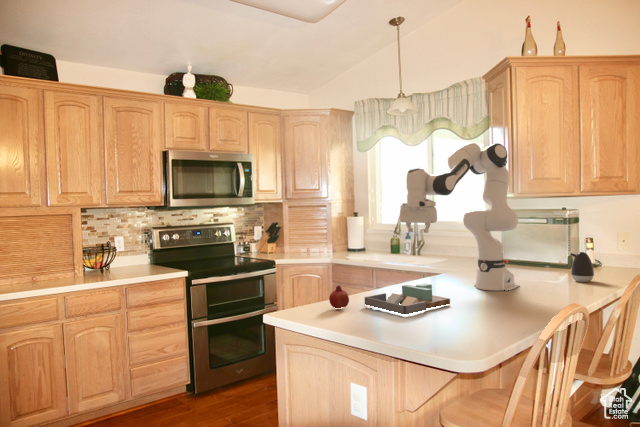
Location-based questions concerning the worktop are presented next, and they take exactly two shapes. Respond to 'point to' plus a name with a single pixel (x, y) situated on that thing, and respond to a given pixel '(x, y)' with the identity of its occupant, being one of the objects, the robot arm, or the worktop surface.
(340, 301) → the fruit
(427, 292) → the scraper
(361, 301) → the worktop surface
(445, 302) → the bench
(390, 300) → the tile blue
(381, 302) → the tray
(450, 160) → the robot arm
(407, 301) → the tile cream
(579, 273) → the pump dispenser
